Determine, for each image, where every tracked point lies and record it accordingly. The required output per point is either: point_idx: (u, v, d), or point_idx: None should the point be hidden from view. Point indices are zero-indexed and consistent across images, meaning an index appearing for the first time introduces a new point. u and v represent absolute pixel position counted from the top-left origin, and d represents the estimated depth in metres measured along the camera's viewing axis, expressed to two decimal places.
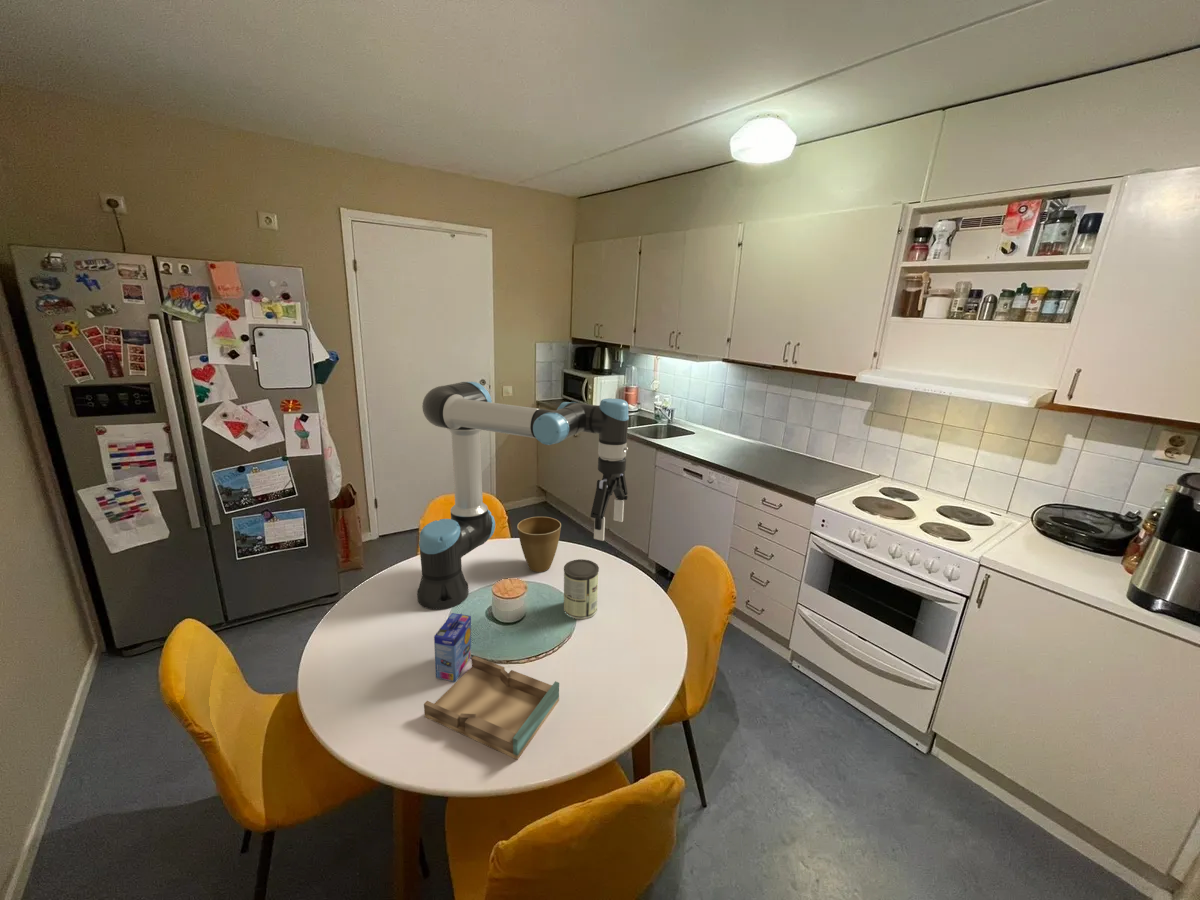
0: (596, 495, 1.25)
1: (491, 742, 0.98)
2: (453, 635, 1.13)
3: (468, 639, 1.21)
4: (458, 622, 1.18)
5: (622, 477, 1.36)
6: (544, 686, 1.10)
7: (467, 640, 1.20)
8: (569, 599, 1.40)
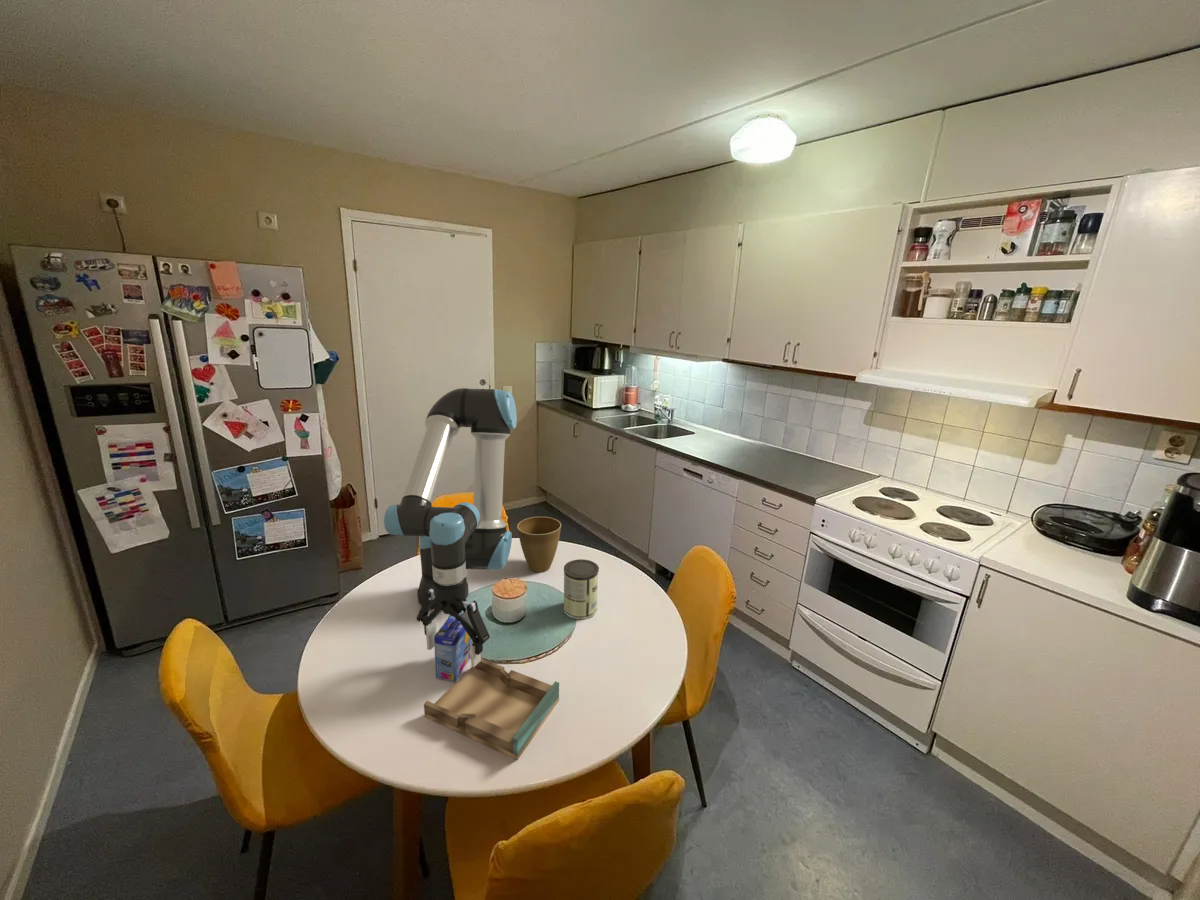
0: None
1: (491, 742, 0.98)
2: (453, 635, 1.13)
3: (468, 639, 1.21)
4: (458, 622, 1.18)
5: None
6: (544, 686, 1.10)
7: (467, 640, 1.20)
8: (569, 599, 1.40)
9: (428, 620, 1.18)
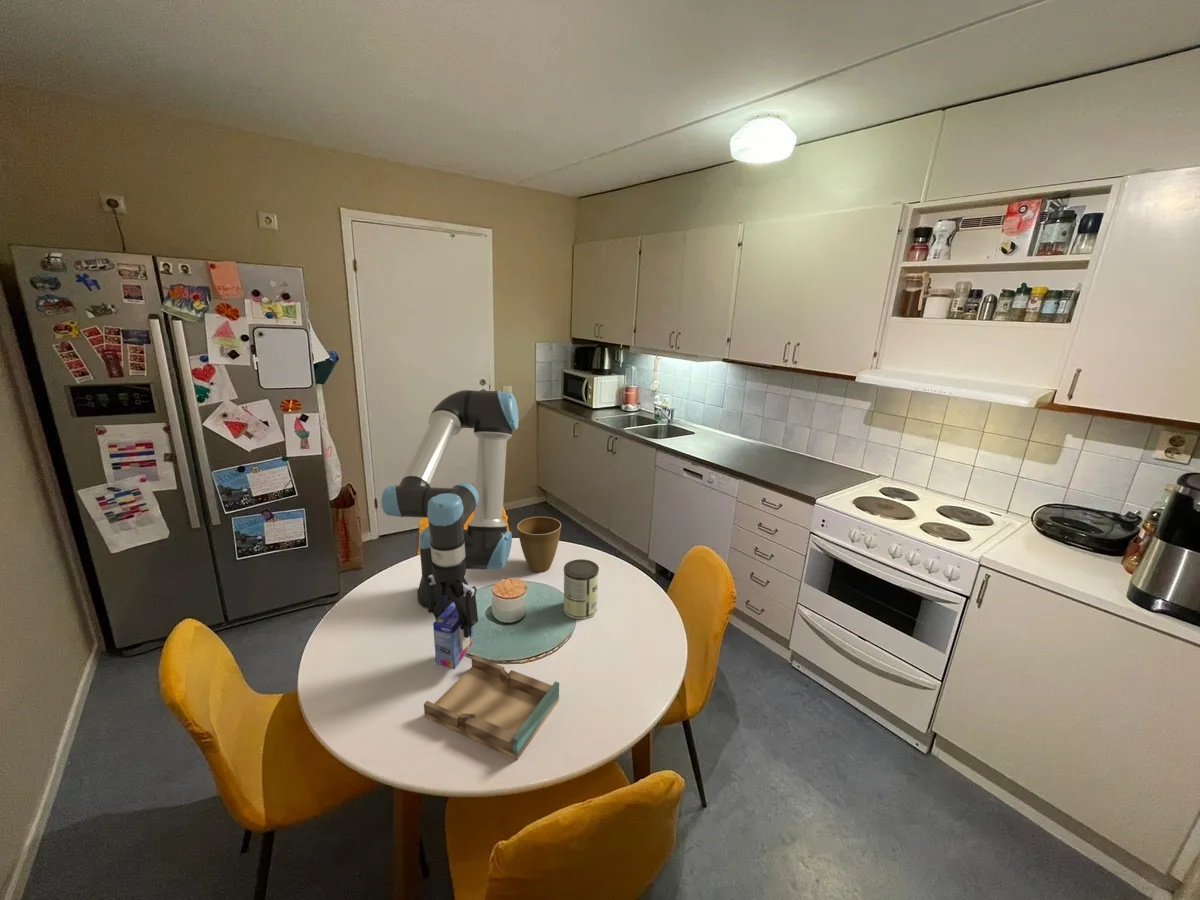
0: None
1: (491, 742, 0.98)
2: (452, 623, 1.13)
3: None
4: None
5: None
6: (544, 686, 1.10)
7: None
8: (569, 599, 1.40)
9: (437, 610, 1.17)
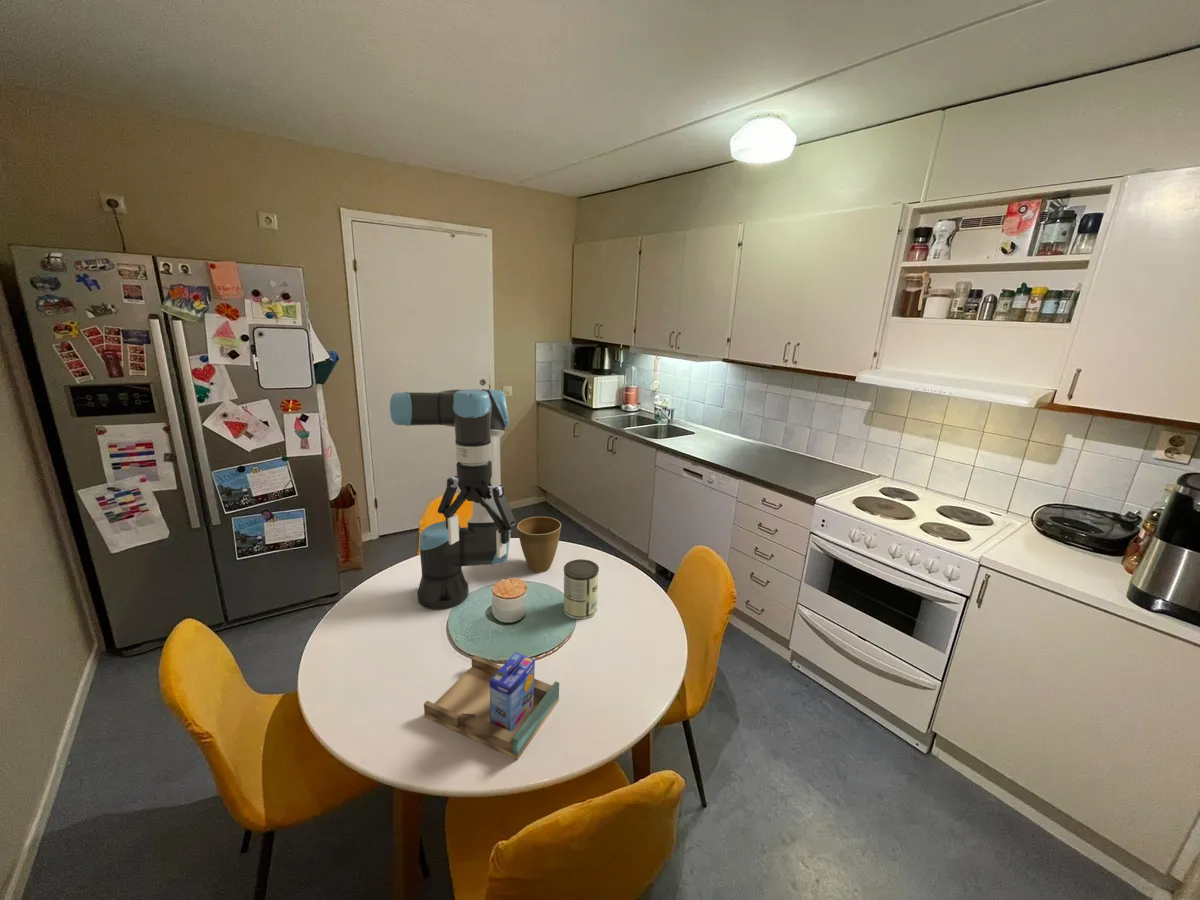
0: None
1: (491, 742, 0.98)
2: (510, 683, 0.98)
3: (530, 686, 1.05)
4: (519, 666, 1.03)
5: None
6: (544, 686, 1.10)
7: (529, 687, 1.04)
8: (569, 599, 1.40)
9: (450, 511, 1.11)
